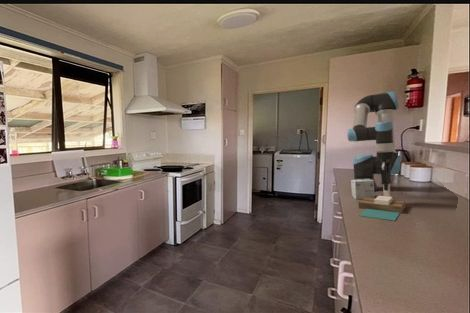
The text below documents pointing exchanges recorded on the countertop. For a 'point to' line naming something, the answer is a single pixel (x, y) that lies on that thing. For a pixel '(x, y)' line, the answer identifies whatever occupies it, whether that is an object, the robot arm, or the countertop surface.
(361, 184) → the light bulb box
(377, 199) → the cream rectangular block
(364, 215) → the mat
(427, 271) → the countertop surface
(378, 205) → the brown flat wooden board
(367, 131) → the robot arm
